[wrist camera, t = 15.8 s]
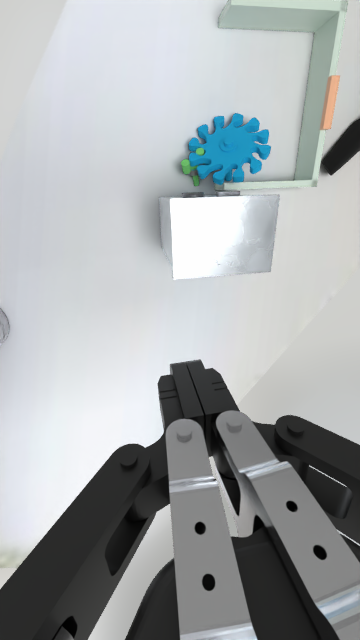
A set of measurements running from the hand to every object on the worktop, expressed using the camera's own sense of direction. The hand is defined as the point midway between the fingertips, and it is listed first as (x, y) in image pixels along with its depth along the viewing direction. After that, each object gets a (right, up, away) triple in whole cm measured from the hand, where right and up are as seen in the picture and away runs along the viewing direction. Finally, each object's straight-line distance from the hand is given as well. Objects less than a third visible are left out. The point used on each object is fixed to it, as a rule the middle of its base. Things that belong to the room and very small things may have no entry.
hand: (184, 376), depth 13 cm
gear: (+5, +25, +24) cm, 35 cm away
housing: (+2, +17, +27) cm, 32 cm away
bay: (+10, +30, +22) cm, 39 cm away
